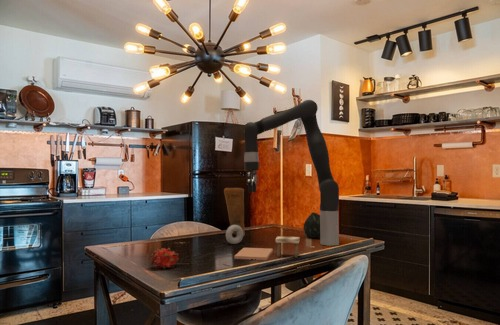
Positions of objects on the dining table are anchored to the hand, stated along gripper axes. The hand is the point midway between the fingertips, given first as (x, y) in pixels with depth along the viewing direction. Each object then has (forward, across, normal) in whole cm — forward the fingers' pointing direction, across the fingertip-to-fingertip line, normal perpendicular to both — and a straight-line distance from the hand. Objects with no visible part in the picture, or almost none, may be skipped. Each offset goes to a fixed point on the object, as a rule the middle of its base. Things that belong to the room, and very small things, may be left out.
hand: (252, 192), depth 192 cm
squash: (+27, +26, -31) cm, 49 cm away
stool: (+27, -24, -21) cm, 42 cm away
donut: (+27, -2, +10) cm, 28 cm away
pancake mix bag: (+27, +28, +17) cm, 42 cm away
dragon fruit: (+26, -53, +24) cm, 64 cm away
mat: (+27, -24, -6) cm, 37 cm away
